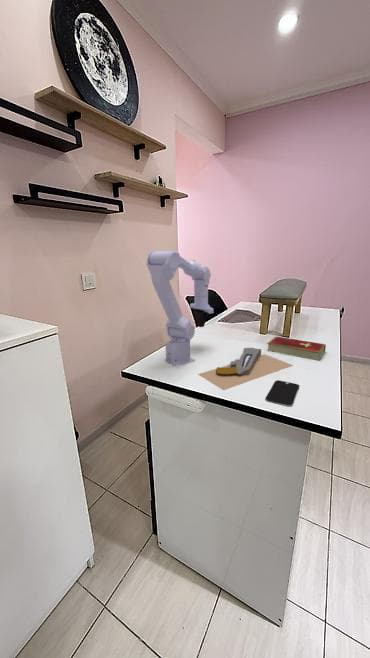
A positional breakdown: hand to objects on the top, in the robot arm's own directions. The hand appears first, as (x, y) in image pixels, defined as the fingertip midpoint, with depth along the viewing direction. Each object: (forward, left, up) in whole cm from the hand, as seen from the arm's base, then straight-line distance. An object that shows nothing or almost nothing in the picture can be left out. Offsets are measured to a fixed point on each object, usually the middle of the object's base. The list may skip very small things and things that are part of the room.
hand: (201, 326), depth 121 cm
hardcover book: (+32, -25, -11) cm, 42 cm away
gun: (+1, -19, -9) cm, 21 cm away
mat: (+1, -28, -11) cm, 30 cm away
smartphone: (-2, -46, -11) cm, 47 cm away
